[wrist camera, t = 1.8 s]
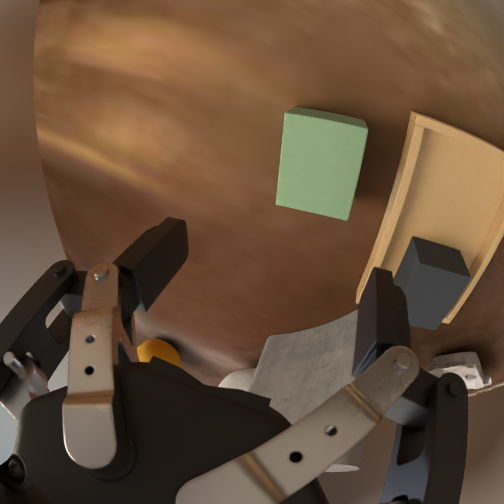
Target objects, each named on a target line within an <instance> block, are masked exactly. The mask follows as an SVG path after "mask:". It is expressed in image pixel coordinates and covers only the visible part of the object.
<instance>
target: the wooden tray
mask: <svg viewBox="0 0 504 504" xmlns="http://www.w3.org/2000/svg"><path fill="white" fill-rule="evenodd" d="M503 235H504V150H502V149H500V148H498V147H496V146H495V145H493V144H491V143H489V142H487V141H485V140H483V139H481V138H479V137H476V136H474V135H472V134H470V133H468V132H466V131H463V130H461V129H459V128H456V127H454V126H452V125H449V124H447V123H444V122H442V121H439V120H436V119H434V118H431V117H428V116H426V115H423V114H420V113H417V112H414V111H411V114H410V119H409V124H408V129H407V134H406V138H405V143H404V147H403V151H402V155H401V159H400V163H399V167H398V171H397V174H396V178H395V182H394V185H393V189H392V192H391V196H390V199H389V202H388V205H387V209H386V212H385V215H384V218H383V221H382V224H381V227H380V230H379V233H378V236H377V239H376V242H375V244H374V247H373V250H372V253H371V255H370V258H369V261H368V263H367V266H366V268H365V271H364V274H363V276H362V279H361V281H360V283H359V286H358V288H357V297H356V303H358V304H359V301H360V298H361V295H362V292H363V290H364V288H365V286H366V283H367V281H368V279H369V276H370V274H371V271H372V269H373V268H374V267H378V268H382V269H386V270H390V271H392V274H393V278H394V276H395V274H396V272H397V270H398V268H399V266H400V263H401V261H402V259H403V257H404V254H405V252H406V250H407V247H408V245H409V243H410V240H411V238H412V236H415V237H418V238H422V239H425V240H429V241H432V242H435V243H438V244H442V245H445V246H448V247H451V248H454V249H458V250H460V252H461V254H462V256H463V259H464V261H465V263H466V266H467V268H468V271H469V273H470V276H471V279H470V280H469V282H468V284H467V285H466V287H465V289H464V290H463V292H462V293H461V295H460V296H459V298H458V299H457V301H456V302H455V304H454V305H453V307H452V308H451V310H450V311H449V313H448V314H447V315H446V317H445V318H444V320H443V321H442V322H443V323H448V324H449V323H450V322H451V320H452V319H453V318H454V316H455V315H456V313H457V312H458V311H459V309H460V308H461V306H462V305H463V304H464V302H465V301H466V299H467V298H468V296H469V295H470V293H471V292H472V290H473V288H474V287H475V285H476V284H477V282H478V280H479V279H480V277H481V275H482V274H483V272H484V270H485V269H486V267H487V265H488V263H489V262H490V260H491V258H492V256H493V254H494V252H495V251H496V249H497V247H498V245H499V243H500V241H501V239H502V237H503Z"/></svg>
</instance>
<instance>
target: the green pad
mask: <svg viewBox="0 0 504 504" xmlns="http://www.w3.org/2000/svg"><path fill="white" fill-rule="evenodd" d="M367 135H368V127H367V125H366V122H365V120H363V119H358V118H354V117H350V116H345V115H341V114H336V113H331V112H326V111H320V110H314V109H308V108H302V107H294V108H292V109H291V110H289V111H287V112H286V113H285V117H284V128H283V138H282V149H281V159H280V169H279V179H278V188H277V198H276V205H280V206H285V207H290V208H294V209H299V210H303V211H308V212H312V213H317V214H321V215H325V216H330V217H334V218H338V219H342V220H346V221H348V218H349V215H350V211H351V207H352V203H353V199H354V195H355V191H356V187H357V182H358V178H359V174H360V169H361V165H362V160H363V155H364V150H365V145H366V140H367Z"/></svg>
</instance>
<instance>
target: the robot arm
mask: <svg viewBox="0 0 504 504" xmlns="http://www.w3.org/2000/svg"><path fill="white" fill-rule="evenodd" d="M188 251H189V248H188V237H187V227H186V222H185V221H184V220H181V219H176V218H172V217H167V218H166V219H165V220H164V221H163V222H162V223H161V224H159V225H158V226H157V225H156V226H154V227H152V228H150V229H148V230H146V231H145V232H144V233H143V234H142V235H141V236H140V237H139V239H137V240H135V241H134V242H133V244H131V245H130V246H129V247H128V248H127V249H126V250H125V251H124V252H123V253H122V254H121V255H120V256H119V257H118V258H117V259H116V260H115V261H114V262H113V263H101V264H98V265H96V266H94V267H92V268H91V269H90V270H89V271H88V272H87V271H76V270H75V267H74V265H73V263H72V262H71V261H69V260H62V261H59V262H56V263H55V264H53V265H52V266H51V267H50V268H49V269H48V270H47V271H46V272H45V273H44V274H43V275H42V276H41V277H40V279H38V280H37V282H36V283H35V284H34V285H33V286H32V287H31V288H30V289H29V290H28V291H27V293H26V294H25V295H24V296H23V297H22V298H21V299H20V301H19V302H18V303H17V304H16V305H15V306H14V308H13V309H12V310H11V311H10V312H9V314H8V315H7V316H6V317H5V319H4V320H3V321H2V322H1V324H0V404H1V405H3V407H4V408H5V409H6V410H7V411H8V412H9V413H10V414H11V415H12V416H13V417H14V418H15V419H16V420H17V421H18V426H17V435H16V441H15V445H14V449H13V452H12V454H11V456H10V458H9V459H8V460H7V461H6V462H4V463H3V464H2V465H0V504H329V502H328V500H327V498H326V496H325V494H324V492H323V490H322V487H321V485H320V483H319V481H318V479H317V476H319V475H320V474H321V473H323V472H324V471H325V470H327V469H328V468H329V467H330V466H332V465H333V464H334V463H335V462H336V461H338V460H339V459H340V458H341V457H342V456H344V455H345V454H346V453H347V452H348V451H349V450H350V449H352V448H353V447H354V446H355V445H356V444H357V443H358V442H359V441H360V440H361V439H362V438H363V437H365V436H366V434H368V433H369V432H370V431H371V430H372V429H373V428H374V427H375V426H376V425H377V424H378V423H379V421H380V420H381V419H382V416H385V417H387V418H389V419H391V420H393V421H395V422H397V427H396V433H395V439H394V444H393V449H392V454H391V460H390V464H389V468H388V473H387V477H386V481H385V484H384V488H383V492H382V496H381V499H380V502H379V504H459V500H460V494H461V489H462V483H463V476H464V469H465V459H466V449H467V433H468V392H467V386H466V384H465V382H464V380H463V379H462V378H461V377H460V376H459V375H458V374H456V373H453V372H447V373H444V374H443V375H442V376H441V377H440V378H438V377H437V376H435V375H433V374H431V373H429V372H427V371H425V370H423V369H422V368H421V367H420V364H419V360H418V358H417V356H416V355H415V354H414V353H413V351H411V347H410V331H409V319H408V309H407V300H406V296H405V294H404V292H403V290H402V288H401V287H400V286H396V285H394V283H393V274H392V271H390V270H386V269H382V268H378V267H374V268H373V269H372V271H371V274H370V276H369V279H368V281H367V283H366V286H365V288H364V290H363V292H362V295H361V298H360V301H359V306H358V317H357V329H356V340H355V350H354V359H353V367H352V374H351V376H352V377H357V378H356V379H355V380H354V381H353V382H352V383H350V384H349V385H348V384H347V385H345V386H344V387H342V388H341V389H340V390H339V391H337V392H336V393H335V394H334V395H332V396H331V397H330V398H329V399H327V400H326V401H325V402H323V403H322V404H321V405H320V406H318V407H317V408H316V409H314V410H313V411H312V412H310V413H309V414H307V415H306V416H305V417H303V418H302V419H300V420H299V421H298V422H296V423H295V424H293V425H292V424H291V423H290V422H289V421H288V420H287V419H286V418H285V417H284V416H283V415H282V414H281V413H279V412H278V411H277V410H275V409H274V408H272V407H270V406H269V405H270V402H271V398H267V397H264V396H260V395H257V394H254V393H251V392H247V391H244V390H241V389H233V388H223V387H214V386H207V385H204V384H202V383H201V382H200V381H198V380H197V379H195V378H194V377H192V376H191V375H190V374H188V373H187V372H186V371H184V370H183V369H182V368H180V367H179V366H176V365H174V364H172V363H169V362H167V361H165V360H162V359H160V358H158V357H156V356H152V358H151V360H150V361H149V362H140V360H139V357H138V353H137V345H136V333H135V318H134V314H133V312H134V311H135V310H136V309H139V310H141V311H144V312H147V310H148V309H149V308H150V306H151V305H152V304H153V302H154V301H155V300H156V298H157V297H158V296H159V295H160V293H161V292H162V291H163V289H164V288H165V287H166V285H167V284H168V283H169V282H170V280H171V279H172V278H173V277H174V275H175V274H176V273H177V271H178V270H179V269H180V268H181V266H182V265H183V264H184V263H185V261H186V259H187V256H188ZM58 302H60V304H61V305H62V307H63V310H62V311H61V312H60V313H59V315H58V316H57V317H56V318H55V320H54V321H53V322H52V324H51V325H50V326H49V328H48V329H47V327H46V324H45V320H46V317H47V315H48V314H49V313H50V311H51V310H52V309H53V308H54V307H55V306H56V304H57V303H58ZM68 351H69V362H68V386H65V387H63V388H60V389H57V390H54V391H52V392H50V391H49V389H48V388H47V385H48V381H49V379H50V377H51V376H52V374H53V373H54V371H55V370H56V368H57V367H58V365H59V364H60V362H61V361H62V359H63V358H64V356H65V355H66V353H67V352H68Z"/></svg>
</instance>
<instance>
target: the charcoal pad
mask: <svg viewBox="0 0 504 504" xmlns="http://www.w3.org/2000/svg"><path fill="white" fill-rule="evenodd" d="M470 279H471V276H470V273H469V271H468V268H467V266H466V263H465V261H464V259H463V256H462V254H461V252H460V250H458V249H454V248H451V247H448V246H445V245H442V244H438V243H435V242H432V241H429V240H425V239H422V238H418V237H415V236H412V238H411V240H410V243H409V245H408V247H407V250H406V252H405V254H404V257H403V259H402V261H401V263H400V266H399V268H398V270H397V272H396V274H395V276H394V278H393V283H394V285H396V286H400V287H401V288H402V290H403V292H404V294H405V296H406V300H407V309H408V319H409V325H411V326H416V327H421V328H426V329H431V330H436V329H437V328H438V326H439V325H440V324H441V322H442V321H443V320H444V318H445V317H446V315H447V314H448V313H449V311H450V310H451V308H452V307H453V305H454V304H455V302H456V301H457V299H458V298H459V296H460V295H461V293H462V292H463V290H464V289H465V287H466V285H467V284H468V282H469V280H470Z"/></svg>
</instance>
